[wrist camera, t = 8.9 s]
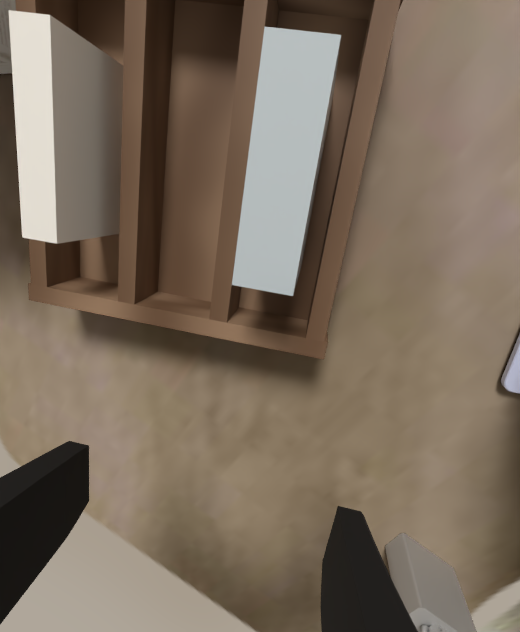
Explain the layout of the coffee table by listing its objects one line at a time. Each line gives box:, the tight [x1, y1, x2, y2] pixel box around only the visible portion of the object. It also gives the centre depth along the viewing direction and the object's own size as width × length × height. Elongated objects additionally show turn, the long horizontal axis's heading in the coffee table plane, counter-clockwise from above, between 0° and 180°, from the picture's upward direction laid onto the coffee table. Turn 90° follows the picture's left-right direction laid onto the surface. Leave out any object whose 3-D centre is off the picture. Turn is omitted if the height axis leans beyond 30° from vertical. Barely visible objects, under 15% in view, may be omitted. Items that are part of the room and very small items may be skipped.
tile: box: [9, 10, 123, 244], centre depth 15 cm, size 1×7×5 cm, turn 172°
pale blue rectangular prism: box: [232, 27, 341, 296], centre depth 13 cm, size 2×7×6 cm, turn 172°
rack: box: [15, 0, 403, 359], centre depth 16 cm, size 14×14×4 cm
